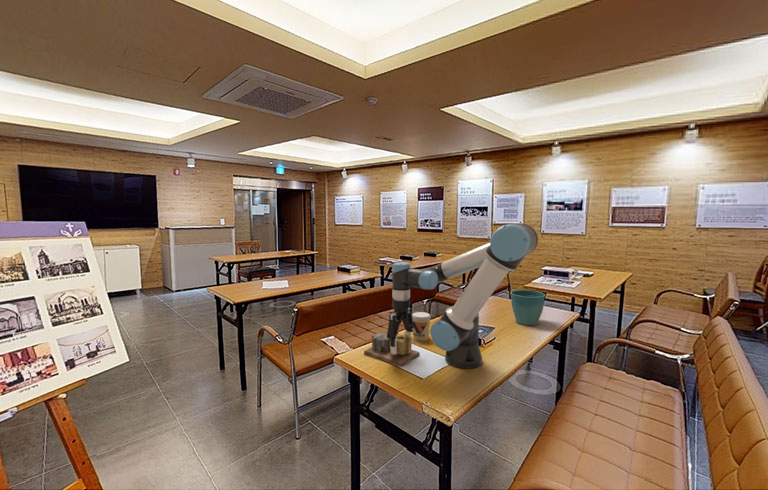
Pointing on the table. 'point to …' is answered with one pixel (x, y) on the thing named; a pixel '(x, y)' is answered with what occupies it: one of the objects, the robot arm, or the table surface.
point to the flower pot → (527, 306)
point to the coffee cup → (421, 326)
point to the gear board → (388, 351)
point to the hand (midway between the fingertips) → (400, 349)
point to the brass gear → (403, 344)
